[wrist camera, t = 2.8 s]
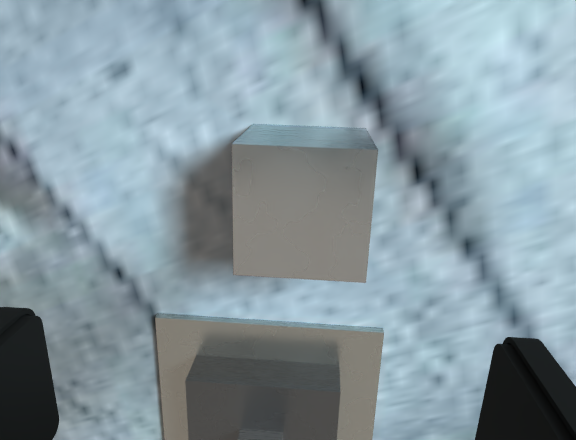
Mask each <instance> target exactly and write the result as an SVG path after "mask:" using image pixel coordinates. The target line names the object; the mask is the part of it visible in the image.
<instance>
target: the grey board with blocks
mask: <svg viewBox="0 0 576 440" xmlns="http://www.w3.org/2000/svg"><path fill="white" fill-rule="evenodd" d="M155 323H156V336H157V349H158V362H159V375H160V388H161V401H162V414H163V427H164V440H372V436H373V427H374V418H375V409H376V400H377V391H378V382H379V373H380V364H381V355H382V346H383V337H384V331H383V328H371V327H356V326H341V325H325V324H310V323H295V322H280V321H264V320H249V319H234V318H218V317H203V316H188V315H173V314H157V316H156V317H155Z"/></svg>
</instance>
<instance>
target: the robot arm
mask: <svg viewBox="0 0 576 440" xmlns="http://www.w3.org/2000/svg"><path fill="white" fill-rule="evenodd" d="M58 425H59V415H58V409H57V403H56V398H55V392H54V386H53V380H52V375H51V369H50V363H49V358H48V352H47V346H46V340H45V335H44V329H43V323H42V320H41V318H40V317H38V316H35V313H34V312H33V310H31V309H28V308H12V307H0V440H52V439H53V438H54V436H55V434H56V432H57V429H58ZM475 440H576V387H575V385H574V384H573V383H572V381H571V380H570V379H569V377H568V376H567V375H566V373H565V372H564V371H563V369H562V368H561V367H560V366H559V364H558V363H557V362H556V360H555V359H554V358H553V356H552V355H551V354H550V352H549V351H548V350H547V348H546V347H545V346H544V344H543V343H542V342H541V341H540V340H539V339H532V338H515V337H507V338H506V339H505V340H504V342H503V344H497V345H496V346H495V347H494V351H493V355H492V360H491V365H490V370H489V375H488V379H487V384H486V389H485V394H484V399H483V403H482V408H481V413H480V418H479V423H478V428H477V432H476V437H475Z"/></svg>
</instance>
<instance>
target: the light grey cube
mask: <svg viewBox="0 0 576 440" xmlns="http://www.w3.org/2000/svg"><path fill="white" fill-rule="evenodd" d="M377 156H378V149H377V147H376V145H375V143H374V142H373V140H372V138H371V136H370V134H369V132H368V131H367V129H366V128H345V127H319V126H293V125H267V124H253V125H251V126H250V127H249V128H248V129H247V130H246V131H245V132H244V133H243V134H242V135H241V136H240V137H239V138H238V139H236V140H235V141H234V142H233V143H232V200H233V275H244V276H261V277H278V278H295V279H311V280H328V281H345V282H362V283H366V276H367V265H368V254H369V243H370V232H371V221H372V210H373V199H374V189H375V178H376V167H377Z"/></svg>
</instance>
